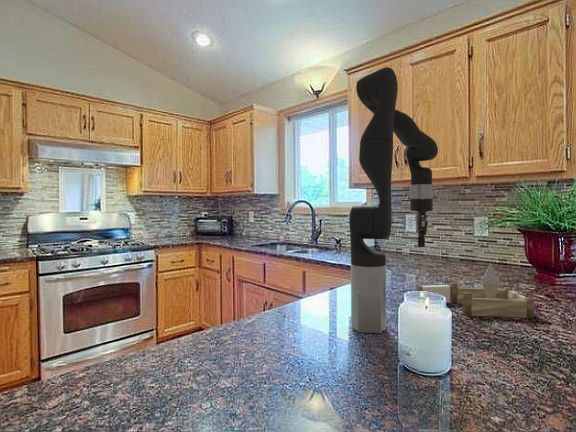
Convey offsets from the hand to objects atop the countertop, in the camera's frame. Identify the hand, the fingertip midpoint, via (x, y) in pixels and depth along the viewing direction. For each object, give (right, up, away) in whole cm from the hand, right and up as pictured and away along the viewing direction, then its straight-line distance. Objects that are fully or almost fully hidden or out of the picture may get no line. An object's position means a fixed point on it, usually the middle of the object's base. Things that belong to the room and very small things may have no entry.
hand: (421, 246), depth 126 cm
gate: (+2, -18, -6) cm, 19 cm away
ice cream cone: (+17, -19, -13) cm, 29 cm away
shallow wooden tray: (+16, -19, -13) cm, 28 cm away
